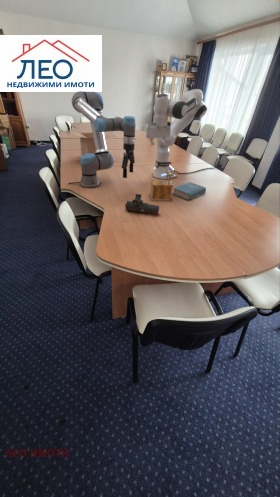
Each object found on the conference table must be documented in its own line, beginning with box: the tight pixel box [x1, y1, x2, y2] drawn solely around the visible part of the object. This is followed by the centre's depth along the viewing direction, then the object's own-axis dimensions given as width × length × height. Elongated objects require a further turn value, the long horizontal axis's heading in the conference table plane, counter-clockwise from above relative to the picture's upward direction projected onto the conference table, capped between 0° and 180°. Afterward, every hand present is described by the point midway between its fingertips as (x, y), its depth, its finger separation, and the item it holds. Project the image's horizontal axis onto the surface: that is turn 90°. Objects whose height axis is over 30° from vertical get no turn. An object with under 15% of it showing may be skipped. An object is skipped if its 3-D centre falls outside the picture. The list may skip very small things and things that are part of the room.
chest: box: [149, 182, 173, 202], centre depth 167 cm, size 14×10×11 cm
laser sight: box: [124, 193, 160, 215], centre depth 146 cm, size 10×22×10 cm, turn 78°
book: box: [172, 181, 207, 201], centre depth 178 cm, size 23×16×5 cm
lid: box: [150, 171, 175, 188], centre depth 161 cm, size 15×10×9 cm
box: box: [70, 130, 114, 156], centre depth 229 cm, size 44×36×27 cm
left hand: (128, 175), depth 160 cm, fingers open, 13 cm apart
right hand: (157, 144), depth 159 cm, fingers open, 8 cm apart
